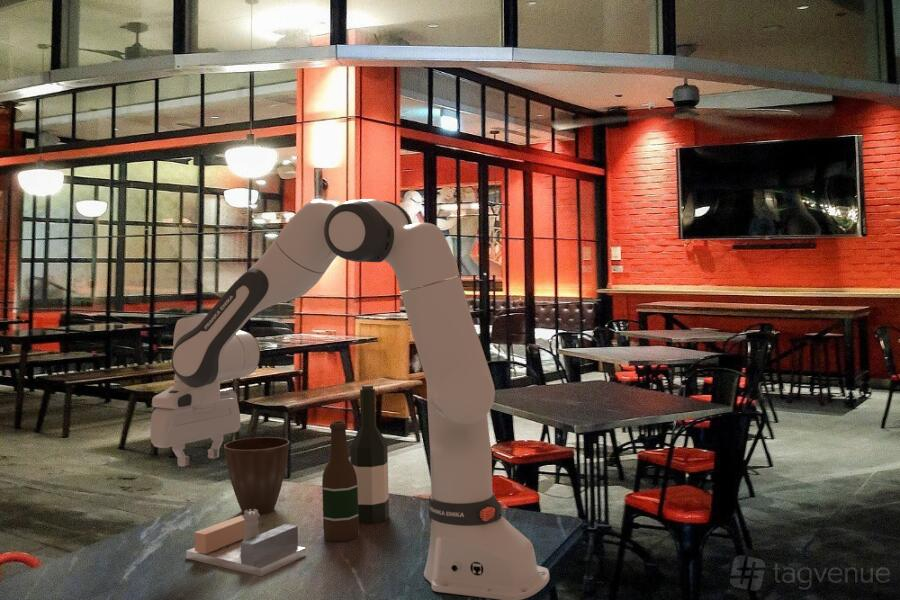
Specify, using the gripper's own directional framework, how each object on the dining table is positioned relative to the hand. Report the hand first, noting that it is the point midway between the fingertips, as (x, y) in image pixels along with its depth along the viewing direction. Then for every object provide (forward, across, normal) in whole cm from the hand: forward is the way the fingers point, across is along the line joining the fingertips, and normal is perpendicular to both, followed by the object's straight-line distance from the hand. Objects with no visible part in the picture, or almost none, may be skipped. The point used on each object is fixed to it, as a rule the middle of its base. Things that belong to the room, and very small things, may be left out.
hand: (198, 461), depth 152 cm
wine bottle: (+17, -31, +20) cm, 41 cm away
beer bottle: (+18, -18, +22) cm, 33 cm away
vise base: (+17, 0, +13) cm, 21 cm away
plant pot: (+18, -24, -8) cm, 31 cm away
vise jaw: (+16, 0, +7) cm, 17 cm away
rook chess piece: (+16, 0, +15) cm, 22 cm away
